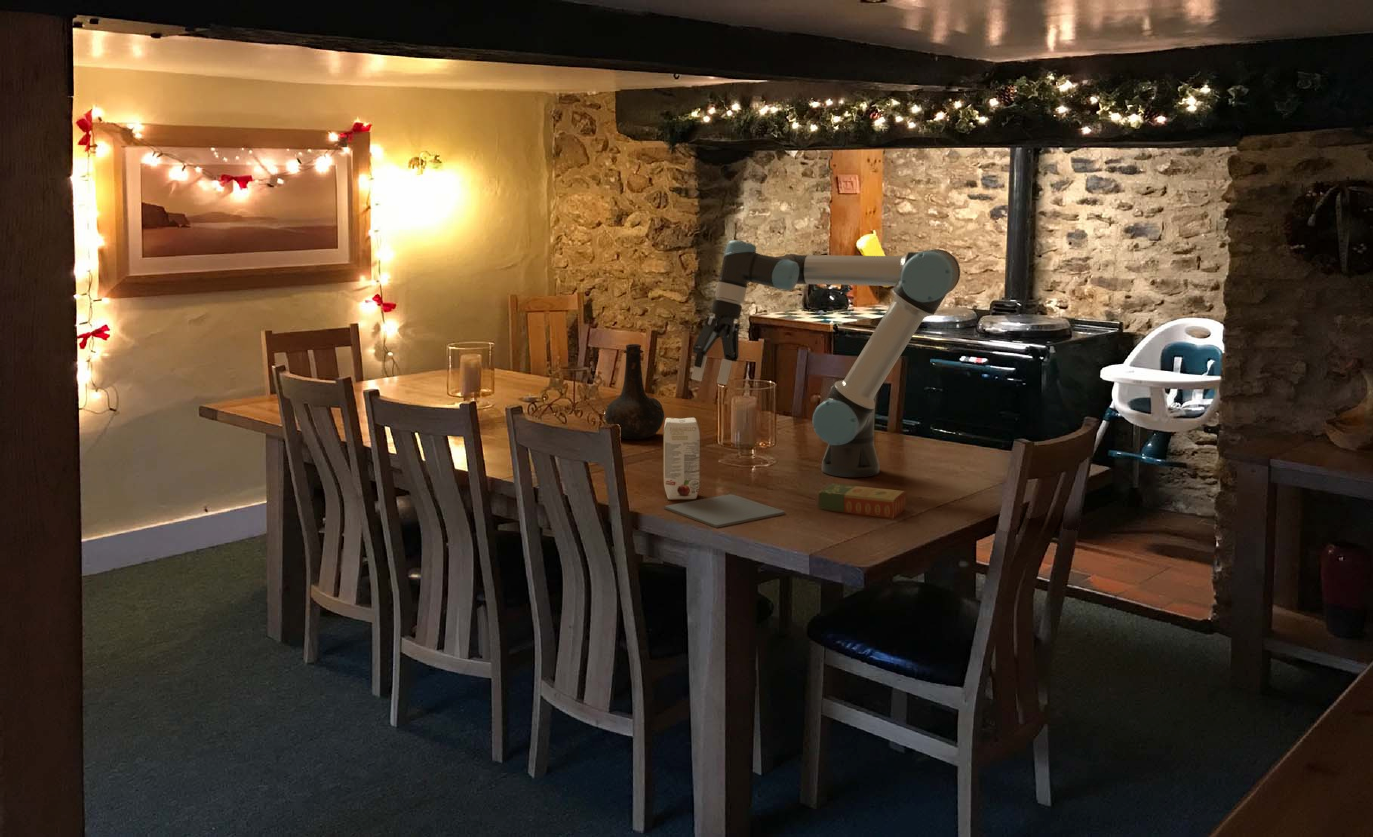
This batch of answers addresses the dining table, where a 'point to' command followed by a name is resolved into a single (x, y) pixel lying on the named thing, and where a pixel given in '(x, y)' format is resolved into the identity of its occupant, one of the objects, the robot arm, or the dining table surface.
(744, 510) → the mat
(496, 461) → the dining table surface
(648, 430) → the glass bottle
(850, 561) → the dining table surface
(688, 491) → the juice carton
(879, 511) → the carton
